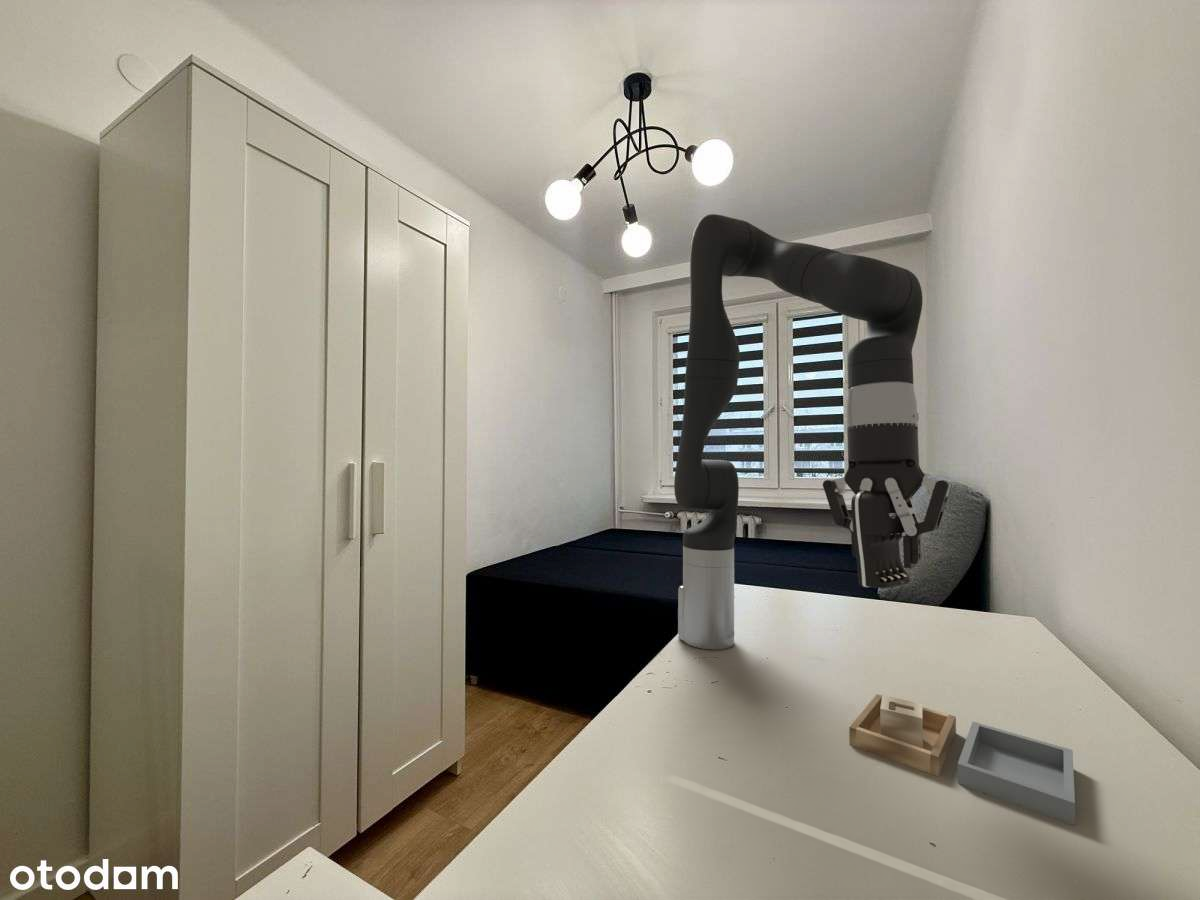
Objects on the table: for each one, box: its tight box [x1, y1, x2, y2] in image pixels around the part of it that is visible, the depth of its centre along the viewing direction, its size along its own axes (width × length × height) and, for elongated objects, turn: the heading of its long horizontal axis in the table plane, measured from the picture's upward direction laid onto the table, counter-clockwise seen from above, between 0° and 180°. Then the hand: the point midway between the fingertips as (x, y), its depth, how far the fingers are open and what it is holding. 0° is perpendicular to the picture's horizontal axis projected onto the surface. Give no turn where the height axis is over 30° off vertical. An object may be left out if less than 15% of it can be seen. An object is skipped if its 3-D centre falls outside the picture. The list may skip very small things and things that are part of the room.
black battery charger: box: [850, 491, 911, 589], centre depth 60 cm, size 7×4×11 cm, turn 120°
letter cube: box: [880, 694, 923, 748], centre depth 56 cm, size 4×4×4 cm
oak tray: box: [848, 693, 957, 777], centre depth 57 cm, size 8×11×2 cm
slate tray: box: [957, 721, 1076, 827], centre depth 50 cm, size 8×11×2 cm
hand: (885, 564), depth 60 cm, fingers closed on black battery charger, 4 cm apart
